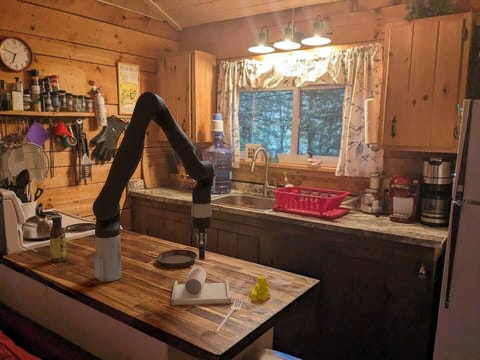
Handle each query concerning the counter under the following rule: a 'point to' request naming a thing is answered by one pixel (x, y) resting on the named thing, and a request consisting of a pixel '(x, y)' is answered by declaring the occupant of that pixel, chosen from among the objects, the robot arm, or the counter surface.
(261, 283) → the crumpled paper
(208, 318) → the counter surface
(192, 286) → the can
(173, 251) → the plant saucer
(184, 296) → the tray
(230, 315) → the fork
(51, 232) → the sauce bottle
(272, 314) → the counter surface
